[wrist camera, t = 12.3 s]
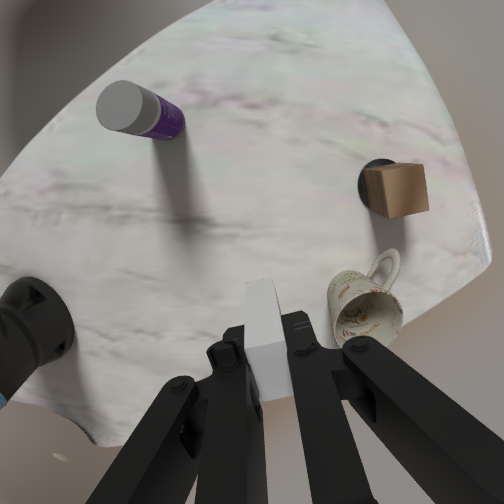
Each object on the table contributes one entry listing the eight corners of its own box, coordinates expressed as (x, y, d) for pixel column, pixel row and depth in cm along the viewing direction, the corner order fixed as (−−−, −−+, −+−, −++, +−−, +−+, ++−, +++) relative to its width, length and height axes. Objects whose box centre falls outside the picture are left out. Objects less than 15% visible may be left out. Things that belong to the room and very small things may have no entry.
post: (362, 216, 40) (381, 227, 33) (353, 163, 38) (371, 164, 32) (409, 206, 40) (434, 215, 33) (401, 155, 38) (425, 155, 31)
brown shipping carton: (370, 209, 39) (389, 219, 33) (363, 169, 38) (382, 171, 31) (405, 202, 38) (429, 210, 32) (399, 162, 37) (423, 164, 31)
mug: (307, 303, 44) (319, 341, 34) (355, 223, 41) (381, 242, 31) (355, 325, 45) (376, 364, 35) (402, 251, 41) (436, 276, 32)
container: (192, 119, 37) (155, 99, 23) (167, 147, 38) (118, 143, 24) (166, 97, 37) (118, 69, 22) (142, 125, 38) (85, 111, 23)
